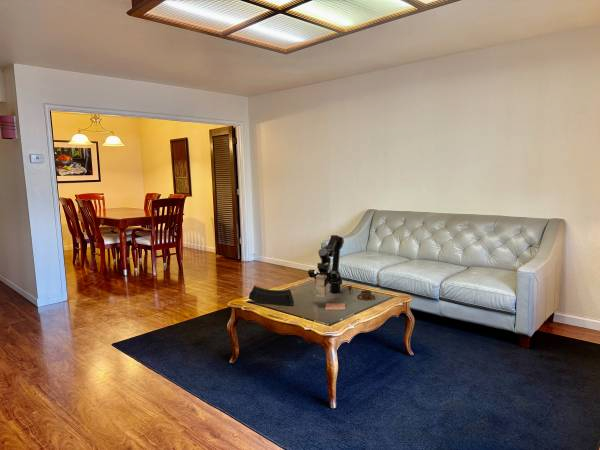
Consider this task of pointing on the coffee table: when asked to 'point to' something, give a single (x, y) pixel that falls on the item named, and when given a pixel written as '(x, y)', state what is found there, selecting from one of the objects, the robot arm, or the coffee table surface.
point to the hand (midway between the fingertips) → (320, 285)
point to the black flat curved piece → (271, 296)
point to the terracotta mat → (334, 306)
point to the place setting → (363, 294)
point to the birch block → (320, 285)
